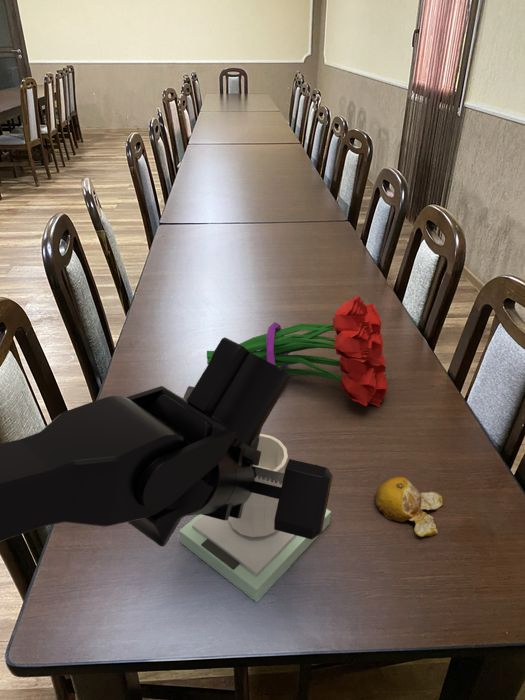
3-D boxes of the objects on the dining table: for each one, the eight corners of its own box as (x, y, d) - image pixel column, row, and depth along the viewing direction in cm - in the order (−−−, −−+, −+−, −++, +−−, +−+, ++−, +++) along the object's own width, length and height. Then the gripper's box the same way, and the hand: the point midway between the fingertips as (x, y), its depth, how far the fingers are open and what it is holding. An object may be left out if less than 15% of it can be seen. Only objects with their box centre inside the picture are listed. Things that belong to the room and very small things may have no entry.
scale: (256, 602, 57) (256, 586, 56) (180, 542, 64) (178, 526, 63) (330, 523, 67) (331, 507, 65) (256, 478, 73) (256, 462, 72)
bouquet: (227, 383, 103) (387, 369, 96) (206, 439, 89) (391, 428, 82) (201, 290, 94) (375, 267, 86) (172, 337, 80) (377, 314, 73)
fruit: (434, 544, 64) (440, 523, 62) (366, 522, 67) (369, 501, 65) (443, 496, 71) (449, 476, 69) (381, 478, 73) (384, 458, 71)
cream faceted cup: (259, 551, 60) (259, 486, 55) (215, 519, 64) (212, 455, 58) (296, 514, 64) (299, 451, 59) (253, 487, 68) (253, 425, 63)
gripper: (337, 400, 42) (349, 425, 56) (125, 359, 47) (187, 392, 61) (308, 547, 39) (328, 534, 54) (87, 488, 44) (161, 490, 59)
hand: (247, 482), depth 57 cm, fingers open, 9 cm apart
